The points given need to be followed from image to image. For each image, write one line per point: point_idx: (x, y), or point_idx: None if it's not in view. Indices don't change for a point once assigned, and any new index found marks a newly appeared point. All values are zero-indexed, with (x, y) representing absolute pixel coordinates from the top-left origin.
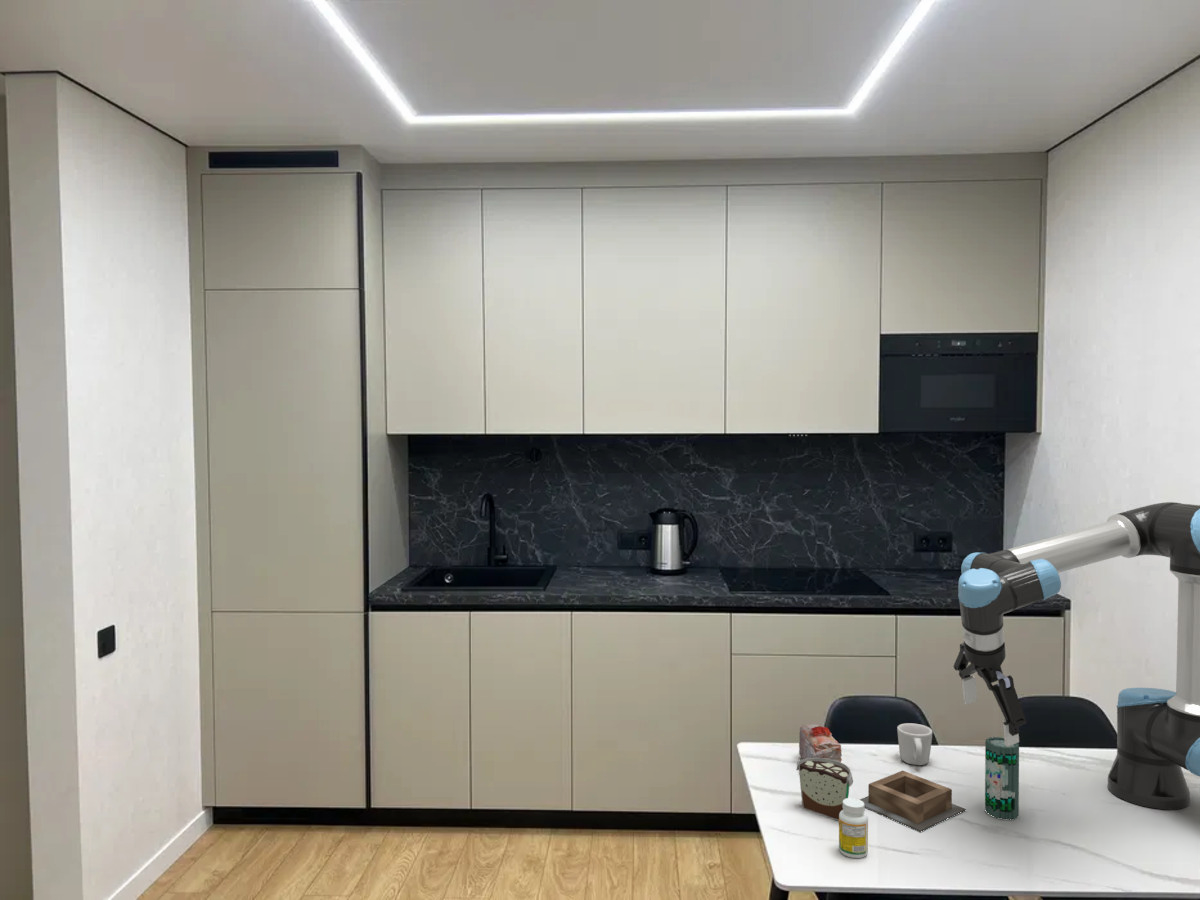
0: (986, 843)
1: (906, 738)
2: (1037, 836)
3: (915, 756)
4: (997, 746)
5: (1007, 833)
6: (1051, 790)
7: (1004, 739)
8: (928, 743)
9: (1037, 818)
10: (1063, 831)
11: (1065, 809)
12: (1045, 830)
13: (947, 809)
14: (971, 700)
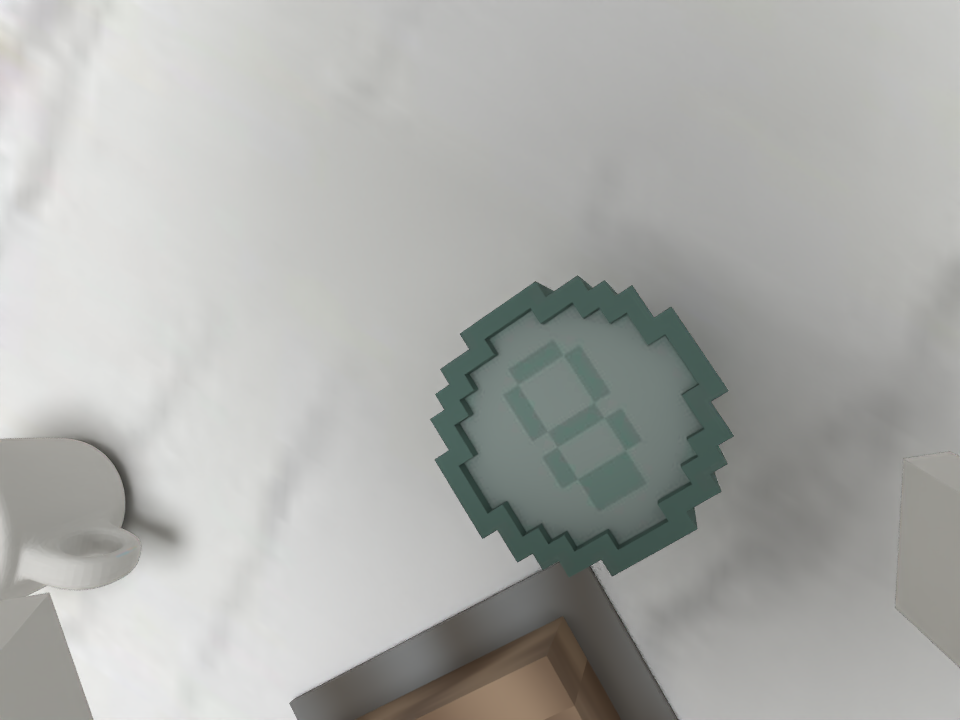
0: (942, 655)
1: None
2: (892, 350)
3: (107, 553)
4: (670, 534)
5: (842, 484)
6: (410, 14)
7: (955, 662)
8: (42, 486)
9: (694, 242)
10: (850, 186)
11: (612, 49)
12: (829, 273)
13: (582, 651)
14: (54, 700)
